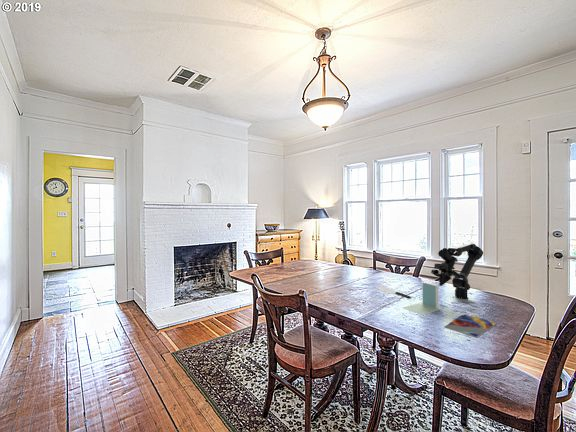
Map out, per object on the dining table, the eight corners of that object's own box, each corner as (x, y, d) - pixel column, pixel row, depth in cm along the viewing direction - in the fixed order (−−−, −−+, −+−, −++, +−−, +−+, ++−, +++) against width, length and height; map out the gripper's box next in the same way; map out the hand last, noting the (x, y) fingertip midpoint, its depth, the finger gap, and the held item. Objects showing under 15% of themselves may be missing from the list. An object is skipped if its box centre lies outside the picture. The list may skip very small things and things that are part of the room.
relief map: (477, 339, 132) (477, 335, 132) (443, 328, 144) (443, 324, 144) (496, 325, 147) (496, 321, 147) (464, 316, 159) (464, 313, 159)
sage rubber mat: (422, 302, 182) (422, 301, 182) (443, 309, 169) (443, 308, 169) (401, 308, 172) (401, 307, 172) (422, 315, 160) (422, 315, 160)
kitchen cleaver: (372, 287, 216) (383, 284, 219) (372, 289, 216) (383, 286, 219) (401, 299, 186) (413, 296, 190) (402, 302, 187) (413, 298, 190)
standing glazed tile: (424, 303, 179) (424, 281, 178) (438, 307, 171) (438, 285, 170) (422, 304, 177) (422, 282, 177) (435, 308, 170) (435, 285, 169)
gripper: (429, 257, 191) (420, 278, 188) (451, 258, 173) (442, 280, 170) (441, 266, 193) (433, 286, 189) (464, 267, 175) (455, 289, 171)
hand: (440, 285), depth 180 cm, fingers closed
